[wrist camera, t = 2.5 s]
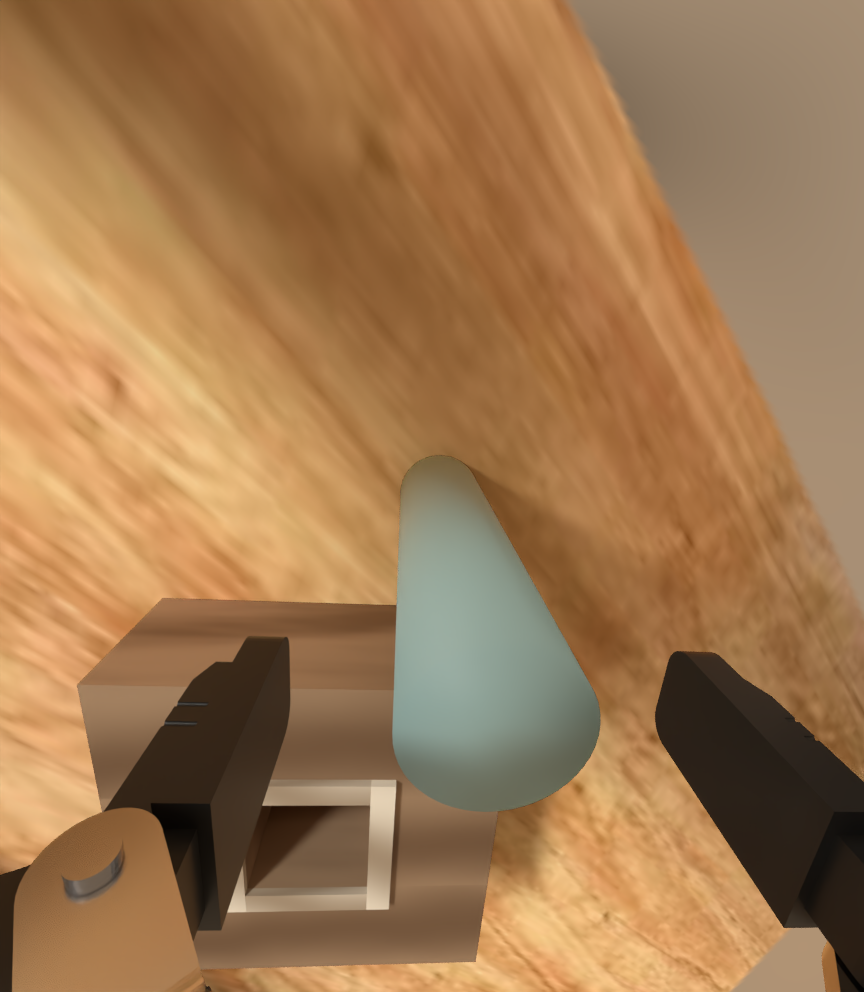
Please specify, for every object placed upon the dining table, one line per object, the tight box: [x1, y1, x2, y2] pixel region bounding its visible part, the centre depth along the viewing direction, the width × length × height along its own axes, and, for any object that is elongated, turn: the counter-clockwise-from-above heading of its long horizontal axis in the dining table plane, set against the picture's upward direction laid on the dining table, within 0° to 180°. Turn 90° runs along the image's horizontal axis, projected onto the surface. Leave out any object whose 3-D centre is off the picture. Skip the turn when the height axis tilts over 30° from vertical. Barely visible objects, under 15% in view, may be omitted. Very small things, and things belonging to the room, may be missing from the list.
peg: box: [392, 455, 600, 812], centre depth 14 cm, size 4×4×14 cm
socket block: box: [77, 598, 498, 969], centre depth 22 cm, size 16×16×6 cm
